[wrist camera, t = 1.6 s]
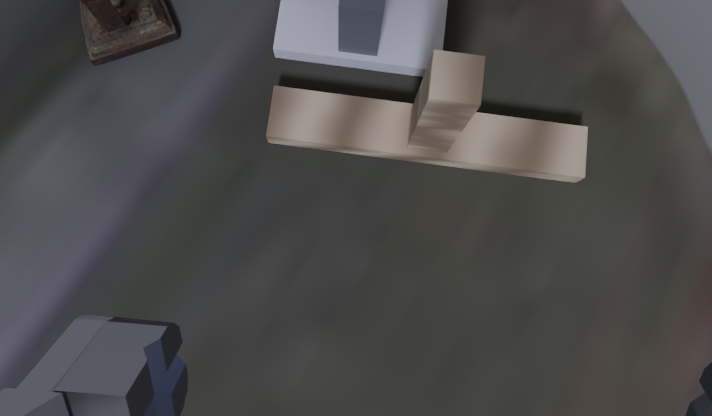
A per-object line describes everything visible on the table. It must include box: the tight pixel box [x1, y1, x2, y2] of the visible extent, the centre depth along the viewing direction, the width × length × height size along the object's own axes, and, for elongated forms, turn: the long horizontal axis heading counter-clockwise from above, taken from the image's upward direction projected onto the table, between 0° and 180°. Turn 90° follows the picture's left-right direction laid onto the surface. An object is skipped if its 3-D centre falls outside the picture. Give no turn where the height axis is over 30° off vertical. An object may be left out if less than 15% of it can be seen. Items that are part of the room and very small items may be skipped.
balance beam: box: [266, 49, 588, 183], centre depth 37 cm, size 24×4×12 cm, turn 83°
